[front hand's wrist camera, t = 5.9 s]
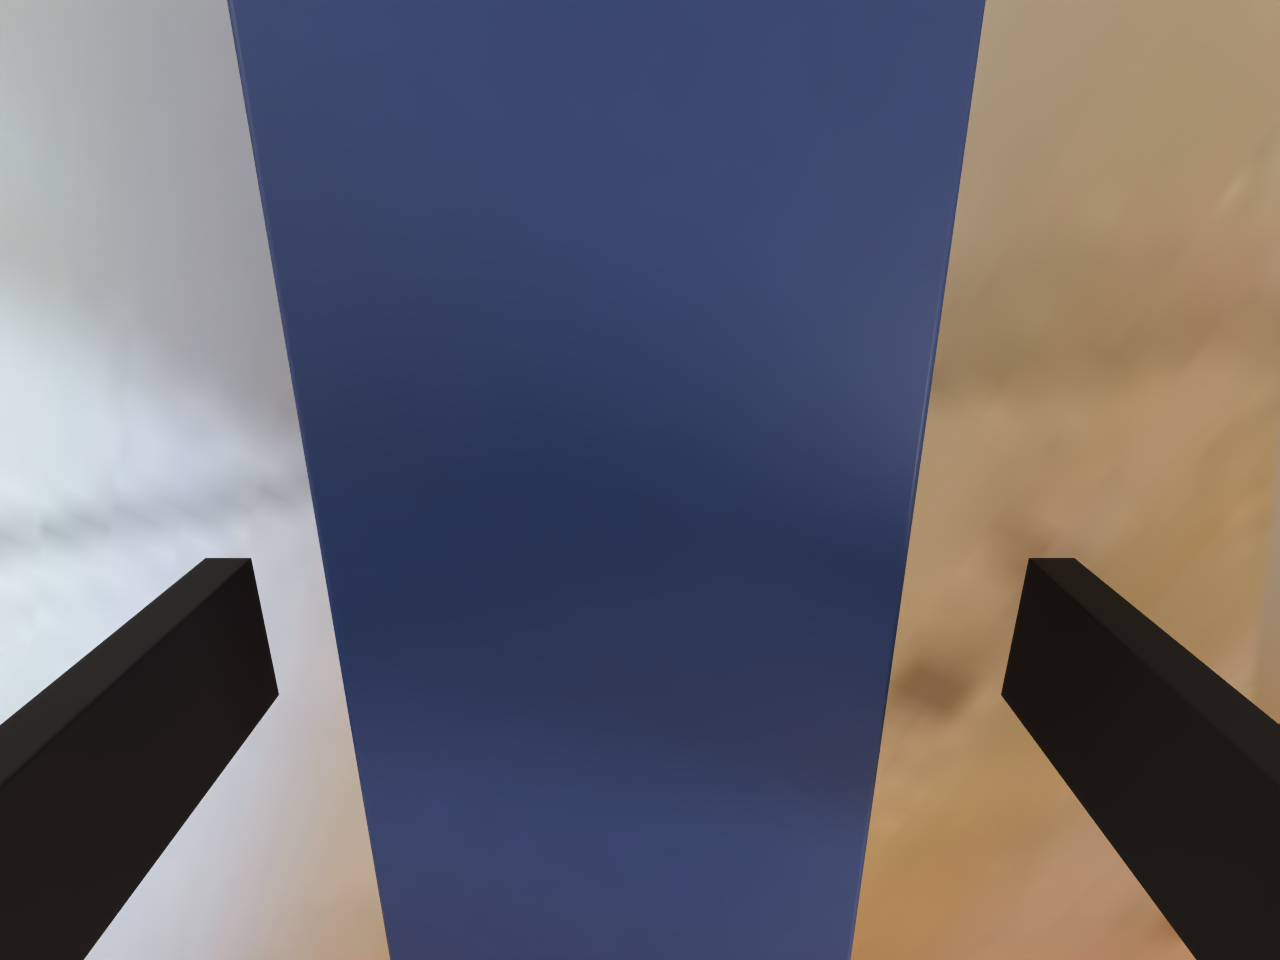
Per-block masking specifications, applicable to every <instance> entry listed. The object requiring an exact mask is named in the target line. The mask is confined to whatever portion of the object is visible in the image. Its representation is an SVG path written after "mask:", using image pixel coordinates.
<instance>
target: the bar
mask: <svg viewBox="0 0 1280 960" xmlns="http://www.w3.org/2000/svg"><path fill="white" fill-rule="evenodd" d="M227 1H228V7H229V13H230V19H231V25H232V31H233V37H234V43H235V48H236V54H237V60H238V66H239V72H240V78H241V84H242V90H243V95H244V101H245V107H246V113H247V119H248V125H249V131H250V137H251V143H252V148H253V154H254V160H255V166H256V172H257V178H258V184H259V190H260V195H261V201H262V207H263V213H264V219H265V225H266V231H267V237H268V243H269V248H270V254H271V260H272V266H273V272H274V278H275V284H276V290H277V296H278V301H279V307H280V313H281V319H282V325H283V331H284V337H285V343H286V348H287V354H288V360H289V366H290V372H291V378H292V384H293V390H294V396H295V401H296V407H297V413H298V419H299V425H300V431H301V437H302V443H303V448H304V454H305V460H306V466H307V472H308V478H309V484H310V490H311V496H312V501H313V507H314V513H315V519H316V525H317V531H318V537H319V543H320V548H321V554H322V560H323V566H324V572H325V578H326V584H327V590H328V596H329V601H330V607H331V613H332V619H333V625H334V631H335V637H336V643H337V648H338V654H339V660H340V666H341V672H342V678H343V684H344V690H345V696H346V701H347V707H348V713H349V719H350V725H351V731H352V737H353V743H354V748H355V754H356V760H357V766H358V772H359V778H360V784H361V790H362V796H363V801H364V807H365V813H366V819H367V825H368V831H369V837H370V843H371V848H372V854H373V860H374V866H375V872H376V878H377V884H378V890H379V896H380V901H381V907H382V913H383V919H384V925H385V931H386V937H387V943H388V948H389V954H390V960H850V958H851V951H852V944H853V937H854V930H855V922H856V915H857V908H858V901H859V894H860V887H861V880H862V873H863V866H864V859H865V851H866V844H867V837H868V830H869V823H870V816H871V809H872V802H873V795H874V788H875V781H876V773H877V766H878V759H879V752H880V745H881V738H882V731H883V724H884V717H885V710H886V702H887V695H888V688H889V681H890V674H891V667H892V660H893V653H894V646H895V639H896V631H897V624H898V617H899V610H900V603H901V596H902V589H903V582H904V575H905V568H906V561H907V553H908V546H909V539H910V532H911V525H912V518H913V511H914V504H915V497H916V490H917V482H918V475H919V468H920V461H921V454H922V447H923V440H924V433H925V426H926V419H927V412H928V404H929V397H930V390H931V383H932V376H933V369H934V362H935V355H936V348H937V341H938V333H939V326H940V319H941V312H942V305H943V298H944V291H945V284H946V277H947V270H948V262H949V255H950V248H951V241H952V234H953V227H954V220H955V213H956V206H957V199H958V192H959V184H960V177H961V170H962V163H963V156H964V149H965V142H966V135H967V128H968V121H969V113H970V106H971V99H972V92H973V85H974V78H975V71H976V64H977V57H978V50H979V43H980V35H981V28H982V21H983V14H984V7H985V0H227Z"/></svg>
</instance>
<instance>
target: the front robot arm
mask: <svg viewBox="0 0 1280 960" xmlns="http://www.w3.org/2000/svg"><path fill="white" fill-rule="evenodd" d="M278 695H279V693H278V688H277V683H276V678H275V673H274V668H273V664H272V659H271V654H270V649H269V644H268V639H267V634H266V629H265V624H264V619H263V614H262V610H261V605H260V600H259V595H258V590H257V585H256V580H255V575H254V570H253V565H252V560H251V558H205V559H204V560H203V561H202V562H200V563H199V564H198V565H197V566H195V567H194V568H193V569H192V570H191V571H189V572H188V573H187V574H186V575H184V576H183V577H182V578H181V579H179V580H178V581H177V582H176V583H175V584H173V585H172V586H171V587H170V588H168V589H167V590H166V591H165V592H163V593H162V594H161V595H160V596H159V597H157V598H156V599H155V600H154V601H152V602H151V603H150V604H149V605H147V606H146V607H145V608H144V609H143V610H141V611H140V612H139V613H138V614H136V615H135V616H134V617H133V618H131V619H130V620H129V621H128V622H127V623H125V624H124V625H123V626H122V627H120V628H119V629H118V630H117V631H116V632H114V633H113V634H112V635H111V636H109V637H108V638H107V639H106V640H104V641H103V642H102V643H101V644H100V645H98V646H97V647H96V648H95V649H93V650H92V651H91V652H90V653H88V654H87V655H86V656H85V657H84V658H82V659H81V660H80V661H79V662H77V663H76V664H75V665H74V666H72V667H71V668H70V669H69V670H68V671H66V672H65V673H64V674H63V675H61V676H60V677H59V678H58V679H56V680H55V681H54V682H53V683H52V684H50V685H49V686H48V687H47V688H45V689H44V690H43V691H42V692H41V693H39V694H38V695H37V696H36V697H34V698H33V699H32V700H31V701H29V702H28V703H27V704H26V705H25V706H23V707H22V708H21V709H20V710H18V711H17V712H16V713H15V714H13V715H12V716H11V717H10V718H9V719H7V720H6V721H5V722H4V723H2V724H1V725H0V960H84V958H85V957H86V956H87V954H88V953H89V952H90V950H91V949H92V948H93V946H94V945H95V944H96V942H97V941H98V939H99V938H100V937H101V935H102V934H103V933H104V931H105V930H106V929H107V927H108V926H109V925H110V923H111V922H112V920H113V919H114V918H115V916H116V915H117V914H118V912H119V911H120V910H121V908H122V907H123V906H124V904H125V903H126V901H127V900H128V899H129V897H130V896H131V895H132V893H133V892H134V891H135V889H136V888H137V887H138V885H139V884H140V883H141V881H142V880H143V878H144V877H145V876H146V874H147V873H148V872H149V870H150V869H151V868H152V866H153V865H154V864H155V862H156V861H157V859H158V858H159V857H160V855H161V854H162V853H163V851H164V850H165V849H166V847H167V846H168V845H169V843H170V842H171V840H172V839H173V838H174V836H175V835H176V834H177V832H178V831H179V830H180V828H181V827H182V826H183V824H184V823H185V821H186V820H187V819H188V817H189V816H190V815H191V813H192V812H193V811H194V809H195V808H196V807H197V805H198V804H199V802H200V801H201V800H202V798H203V797H204V796H205V794H206V793H207V792H208V790H209V789H210V788H211V786H212V785H213V783H214V782H215V781H216V779H217V778H218V777H219V775H220V774H221V773H222V771H223V770H224V769H225V767H226V766H227V764H228V763H229V762H230V760H231V759H232V758H233V756H234V755H235V754H236V752H237V751H238V750H239V748H240V747H241V746H242V744H243V743H244V741H245V740H246V739H247V737H248V736H249V735H250V733H251V732H252V731H253V729H254V728H255V727H256V725H257V724H258V722H259V721H260V720H261V718H262V717H263V716H264V714H265V713H266V712H267V710H268V709H269V708H270V706H271V705H272V703H273V702H274V701H275V699H276V698H277V697H278ZM1001 695H1002V697H1003V698H1004V699H1005V701H1006V702H1007V703H1008V705H1009V706H1010V708H1011V709H1012V710H1013V712H1014V713H1015V714H1016V716H1017V717H1018V718H1019V720H1020V721H1021V722H1022V724H1023V725H1024V727H1025V728H1026V729H1027V731H1028V732H1029V733H1030V735H1031V736H1032V737H1033V739H1034V740H1035V741H1036V743H1037V744H1038V746H1039V747H1040V748H1041V750H1042V751H1043V752H1044V754H1045V755H1046V756H1047V758H1048V759H1049V760H1050V762H1051V763H1052V764H1053V766H1054V767H1055V769H1056V770H1057V771H1058V773H1059V774H1060V775H1061V777H1062V778H1063V779H1064V781H1065V782H1066V783H1067V785H1068V786H1069V788H1070V789H1071V790H1072V792H1073V793H1074V794H1075V796H1076V797H1077V798H1078V800H1079V801H1080V802H1081V804H1082V805H1083V807H1084V808H1085V809H1086V811H1087V812H1088V813H1089V815H1090V816H1091V817H1092V819H1093V820H1094V821H1095V823H1096V824H1097V826H1098V827H1099V828H1100V830H1101V831H1102V832H1103V834H1104V835H1105V836H1106V838H1107V839H1108V840H1109V842H1110V843H1111V845H1112V846H1113V847H1114V849H1115V850H1116V851H1117V853H1118V854H1119V855H1120V857H1121V858H1122V859H1123V861H1124V862H1125V864H1126V865H1127V866H1128V868H1129V869H1130V870H1131V872H1132V873H1133V874H1134V876H1135V877H1136V878H1137V880H1138V881H1139V883H1140V884H1141V885H1142V887H1143V888H1144V889H1145V891H1146V892H1147V893H1148V895H1149V896H1150V897H1151V899H1152V900H1153V901H1154V903H1155V904H1156V906H1157V907H1158V908H1159V910H1160V911H1161V912H1162V914H1163V915H1164V916H1165V918H1166V919H1167V920H1168V922H1169V923H1170V925H1171V926H1172V927H1173V929H1174V930H1175V931H1176V933H1177V934H1178V935H1179V937H1180V938H1181V939H1182V941H1183V942H1184V944H1185V945H1186V946H1187V948H1188V949H1189V950H1190V952H1191V953H1192V954H1193V956H1194V957H1195V958H1196V960H1280V724H1278V723H1276V722H1275V721H1274V720H1273V719H1271V718H1270V717H1269V716H1268V715H1267V714H1265V713H1264V712H1263V711H1262V710H1260V709H1259V708H1258V707H1257V706H1255V705H1254V704H1253V703H1252V702H1251V701H1249V700H1248V699H1247V698H1246V697H1244V696H1243V695H1242V694H1241V693H1239V692H1238V691H1237V690H1236V689H1235V688H1233V687H1232V686H1231V685H1230V684H1228V683H1227V682H1226V681H1225V680H1224V679H1222V678H1221V677H1220V676H1219V675H1217V674H1216V673H1215V672H1214V671H1212V670H1211V669H1210V668H1209V667H1208V666H1206V665H1205V664H1204V663H1203V662H1201V661H1200V660H1199V659H1198V658H1196V657H1195V656H1194V655H1193V654H1192V653H1190V652H1189V651H1188V650H1187V649H1185V648H1184V647H1183V646H1182V645H1180V644H1179V643H1178V642H1177V641H1176V640H1174V639H1173V638H1172V637H1171V636H1169V635H1168V634H1167V633H1166V632H1164V631H1163V630H1162V629H1161V628H1160V627H1158V626H1157V625H1156V624H1155V623H1153V622H1152V621H1151V620H1150V619H1149V618H1147V617H1146V616H1145V615H1144V614H1142V613H1141V612H1140V611H1139V610H1137V609H1136V608H1135V607H1134V606H1133V605H1131V604H1130V603H1129V602H1128V601H1126V600H1125V599H1124V598H1123V597H1121V596H1120V595H1119V594H1118V593H1117V592H1115V591H1114V590H1113V589H1112V588H1110V587H1109V586H1108V585H1107V584H1105V583H1104V582H1103V581H1102V580H1101V579H1099V578H1098V577H1097V576H1096V575H1094V574H1093V573H1092V572H1091V571H1089V570H1088V569H1087V568H1086V567H1085V566H1083V565H1082V564H1081V563H1080V562H1078V561H1077V560H1076V559H1075V558H1029V560H1028V565H1027V570H1026V575H1025V580H1024V585H1023V590H1022V595H1021V600H1020V605H1019V610H1018V614H1017V619H1016V624H1015V629H1014V634H1013V639H1012V644H1011V649H1010V654H1009V659H1008V664H1007V668H1006V673H1005V678H1004V683H1003V688H1002V693H1001Z"/></svg>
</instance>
